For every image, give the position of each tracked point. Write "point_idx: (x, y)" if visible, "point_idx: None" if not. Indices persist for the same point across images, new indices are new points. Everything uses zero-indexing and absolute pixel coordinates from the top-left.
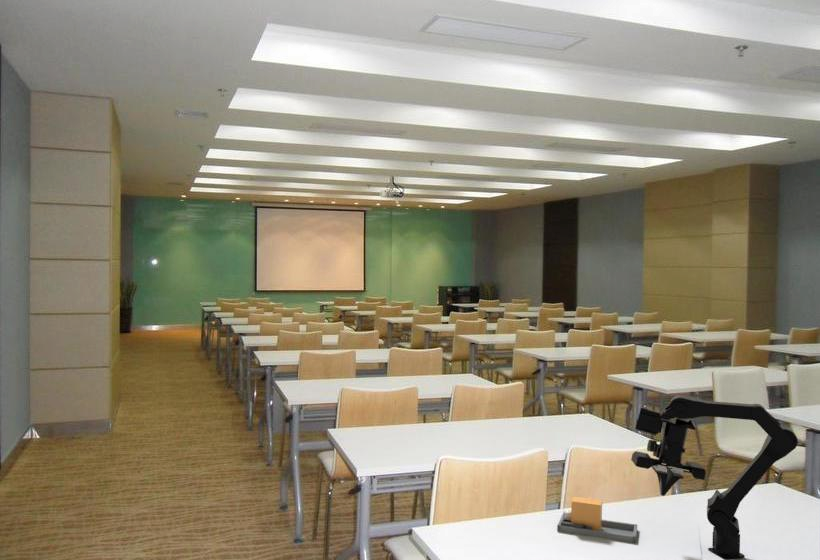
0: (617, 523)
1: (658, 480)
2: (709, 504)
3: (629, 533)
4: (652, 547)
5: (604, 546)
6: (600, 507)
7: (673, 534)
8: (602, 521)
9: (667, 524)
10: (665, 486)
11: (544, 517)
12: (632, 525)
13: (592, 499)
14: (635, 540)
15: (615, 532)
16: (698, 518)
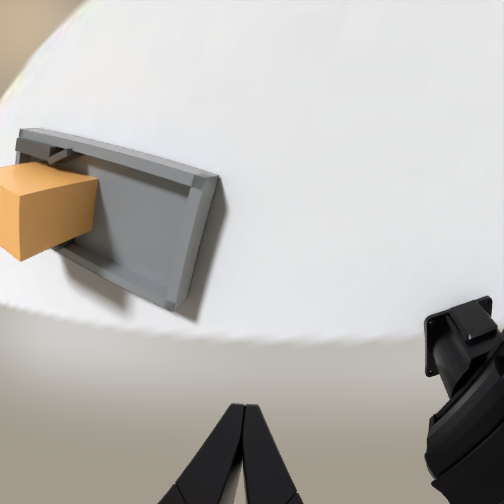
0: (134, 167)
1: (168, 492)
2: (453, 478)
3: (175, 219)
4: (243, 297)
5: (109, 286)
6: (26, 258)
7: (375, 168)
8: (93, 155)
9: (384, 60)
10: (245, 493)
11: (20, 103)
12: (185, 183)
13: (1, 192)
14: (178, 306)
15: (131, 215)
16: (498, 30)
